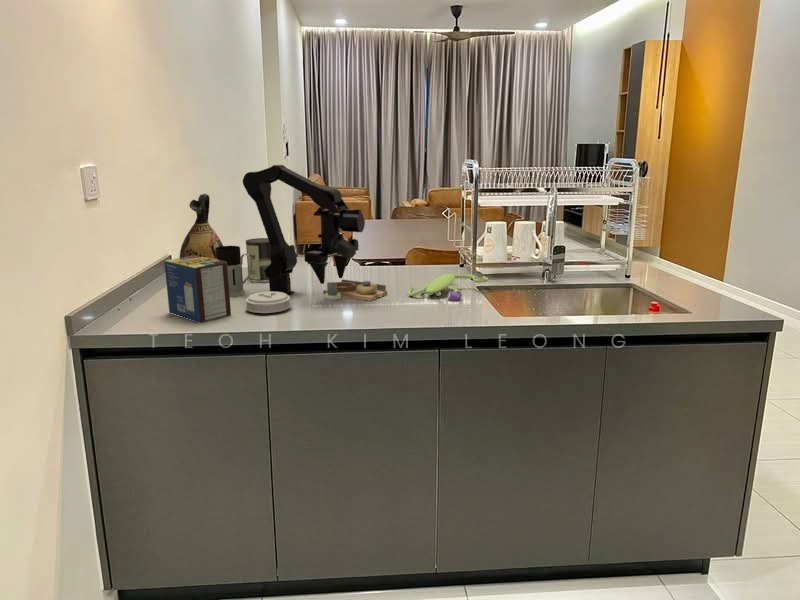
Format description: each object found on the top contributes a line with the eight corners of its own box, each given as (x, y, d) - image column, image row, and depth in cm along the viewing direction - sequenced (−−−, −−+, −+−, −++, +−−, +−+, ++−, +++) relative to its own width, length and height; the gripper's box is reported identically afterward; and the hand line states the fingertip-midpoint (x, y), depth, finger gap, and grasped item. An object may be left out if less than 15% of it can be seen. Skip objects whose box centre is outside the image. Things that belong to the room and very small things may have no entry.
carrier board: (369, 301, 186) (369, 286, 185) (323, 294, 195) (322, 280, 194) (387, 294, 194) (387, 280, 193) (341, 287, 203) (341, 274, 202)
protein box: (200, 306, 181) (196, 254, 177) (231, 315, 171) (227, 261, 167) (168, 313, 173) (162, 260, 169) (199, 323, 163) (194, 267, 159)
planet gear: (334, 301, 186) (333, 285, 185) (320, 299, 189) (320, 283, 187) (344, 298, 190) (343, 282, 189) (331, 295, 193) (330, 280, 192)
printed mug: (280, 276, 221) (278, 237, 217) (274, 282, 211) (271, 242, 207) (252, 276, 221) (249, 237, 218) (244, 282, 211) (241, 242, 208)
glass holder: (231, 289, 201) (228, 244, 198) (263, 294, 194) (260, 248, 191) (211, 294, 194) (207, 248, 190) (243, 300, 187) (240, 252, 183)
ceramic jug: (219, 285, 207) (213, 196, 200) (174, 284, 208) (166, 196, 200) (234, 274, 224) (228, 192, 216) (192, 274, 224) (185, 192, 216)
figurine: (495, 290, 202) (495, 274, 200) (449, 306, 182) (449, 288, 180) (449, 282, 213) (449, 267, 212) (401, 296, 193) (401, 279, 192)
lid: (243, 306, 181) (242, 290, 179) (286, 303, 185) (285, 287, 184) (249, 318, 169) (248, 300, 168) (294, 313, 173) (293, 296, 172)
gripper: (332, 236, 172) (334, 290, 176) (369, 229, 188) (370, 278, 192) (302, 233, 178) (304, 285, 182) (340, 226, 193) (341, 274, 197)
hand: (331, 280), depth 188 cm, fingers open, 9 cm apart
